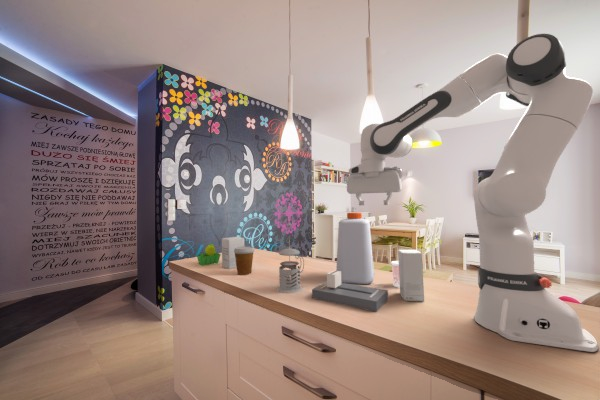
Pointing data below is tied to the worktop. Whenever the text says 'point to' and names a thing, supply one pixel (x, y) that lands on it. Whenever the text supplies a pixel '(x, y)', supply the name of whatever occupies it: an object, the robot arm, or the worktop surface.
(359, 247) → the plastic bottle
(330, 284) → the fader knob
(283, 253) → the french press
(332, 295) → the fader console
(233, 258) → the supplement box
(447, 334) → the worktop surface
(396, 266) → the beverage cup
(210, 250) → the fruit basket
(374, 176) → the robot arm
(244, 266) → the disposable coffee cup
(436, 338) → the worktop surface
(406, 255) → the skincare box
